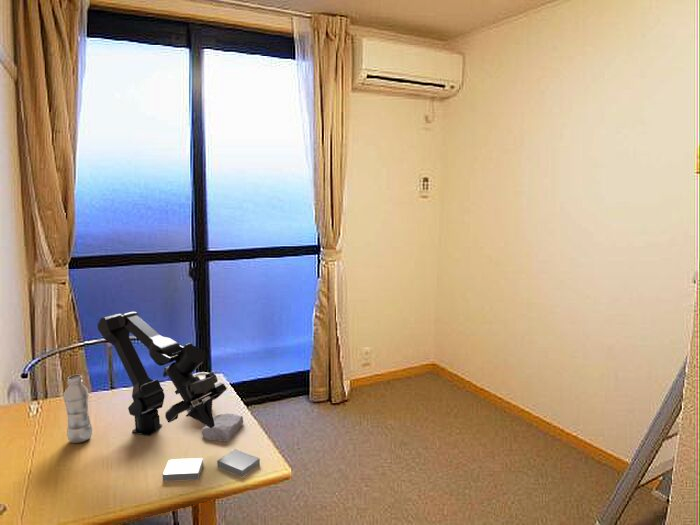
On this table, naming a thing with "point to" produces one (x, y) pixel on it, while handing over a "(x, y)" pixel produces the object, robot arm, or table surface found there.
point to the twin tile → (183, 469)
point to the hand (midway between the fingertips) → (212, 427)
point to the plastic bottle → (77, 410)
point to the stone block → (223, 427)
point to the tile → (238, 462)
